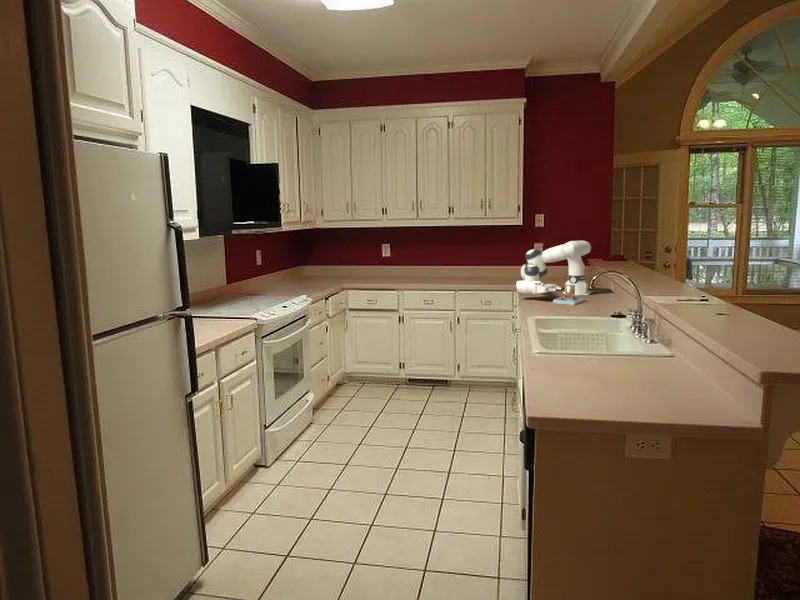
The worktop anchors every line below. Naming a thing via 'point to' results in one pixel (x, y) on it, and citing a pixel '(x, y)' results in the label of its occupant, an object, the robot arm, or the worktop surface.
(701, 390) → the worktop surface
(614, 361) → the worktop surface
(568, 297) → the clear glass cup
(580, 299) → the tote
